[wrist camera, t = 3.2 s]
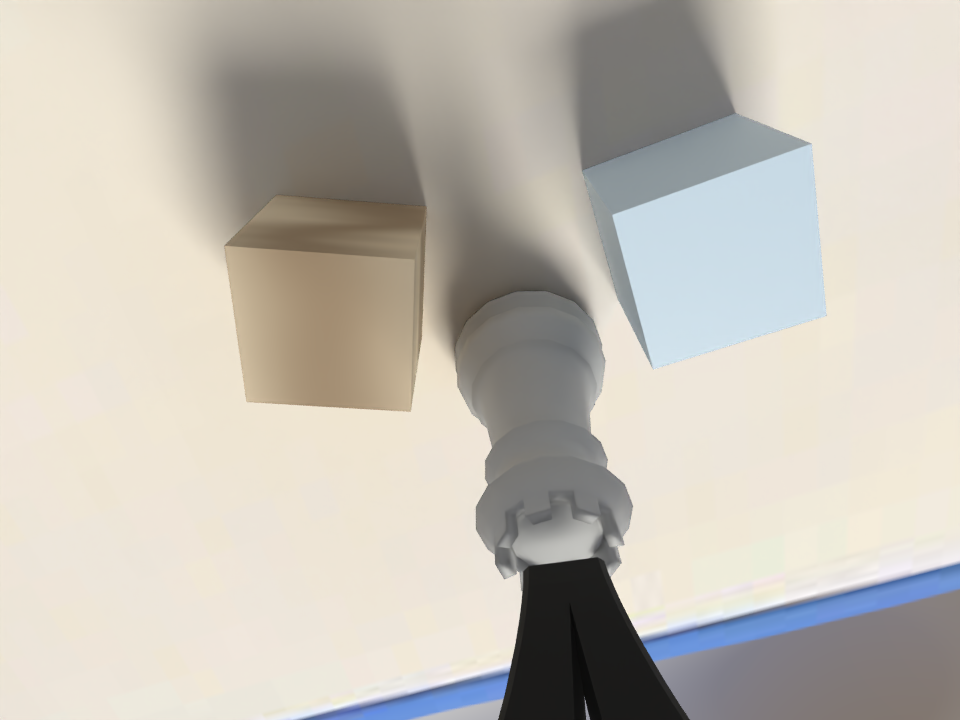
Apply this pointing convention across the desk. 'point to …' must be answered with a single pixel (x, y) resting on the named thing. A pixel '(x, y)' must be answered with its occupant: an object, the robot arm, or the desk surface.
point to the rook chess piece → (540, 433)
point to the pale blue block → (711, 236)
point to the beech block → (329, 302)
